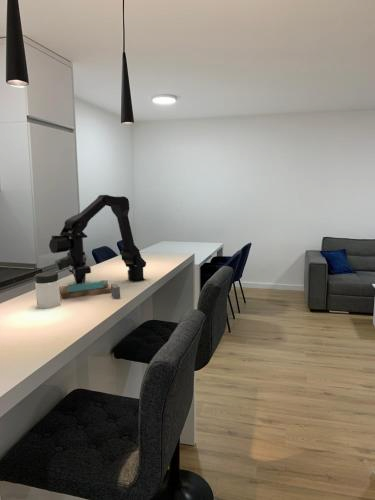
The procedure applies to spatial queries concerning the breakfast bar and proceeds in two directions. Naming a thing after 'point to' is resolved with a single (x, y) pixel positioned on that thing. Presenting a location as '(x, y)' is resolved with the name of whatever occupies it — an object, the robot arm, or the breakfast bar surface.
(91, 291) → the board
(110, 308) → the breakfast bar surface
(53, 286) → the jar
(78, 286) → the leg
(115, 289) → the post
